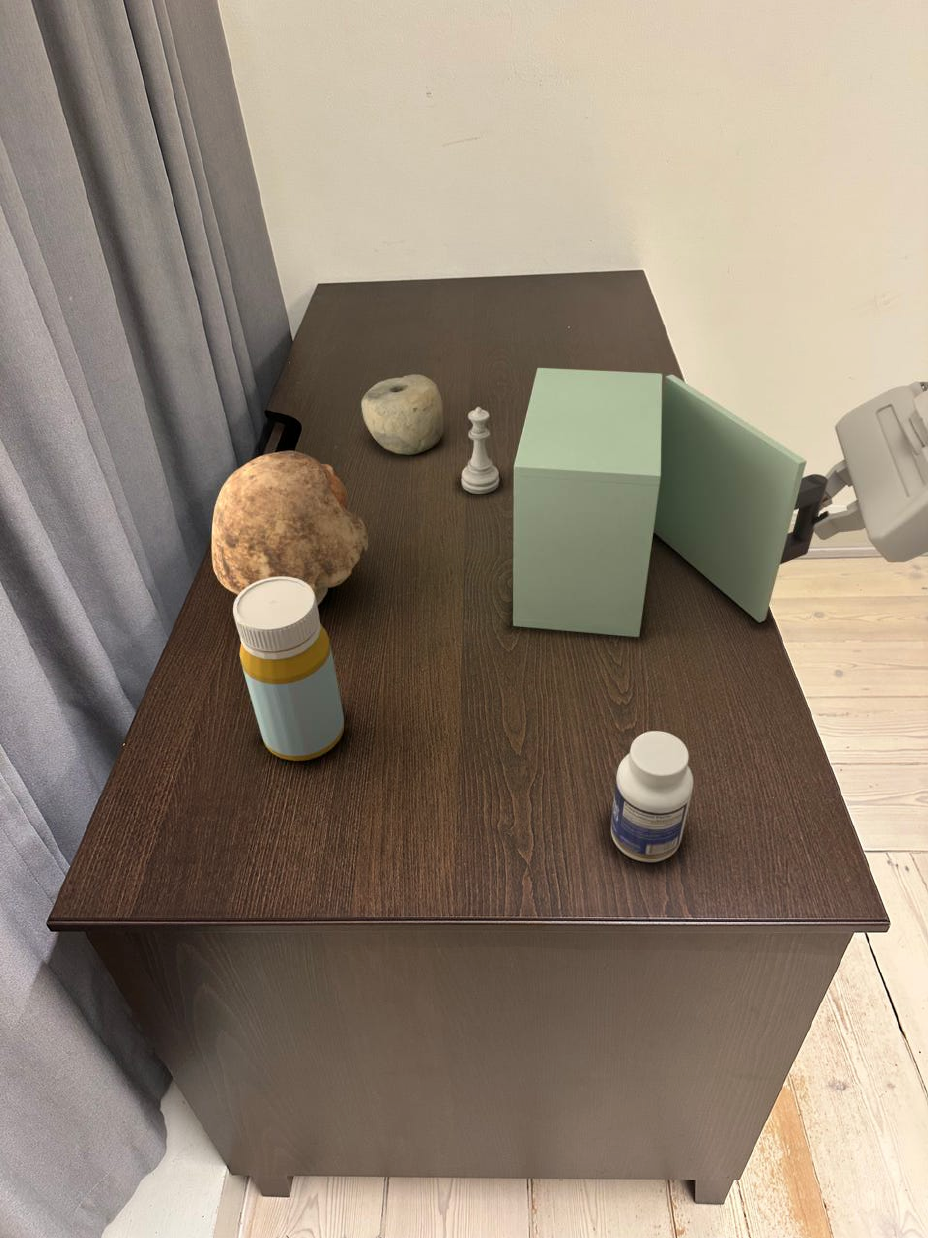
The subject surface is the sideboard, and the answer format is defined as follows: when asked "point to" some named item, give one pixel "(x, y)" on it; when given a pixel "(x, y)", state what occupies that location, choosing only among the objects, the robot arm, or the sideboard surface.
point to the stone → (404, 414)
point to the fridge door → (731, 497)
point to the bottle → (289, 668)
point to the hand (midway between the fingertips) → (812, 516)
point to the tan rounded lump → (285, 525)
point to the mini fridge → (586, 500)
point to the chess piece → (479, 458)
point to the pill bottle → (652, 797)
